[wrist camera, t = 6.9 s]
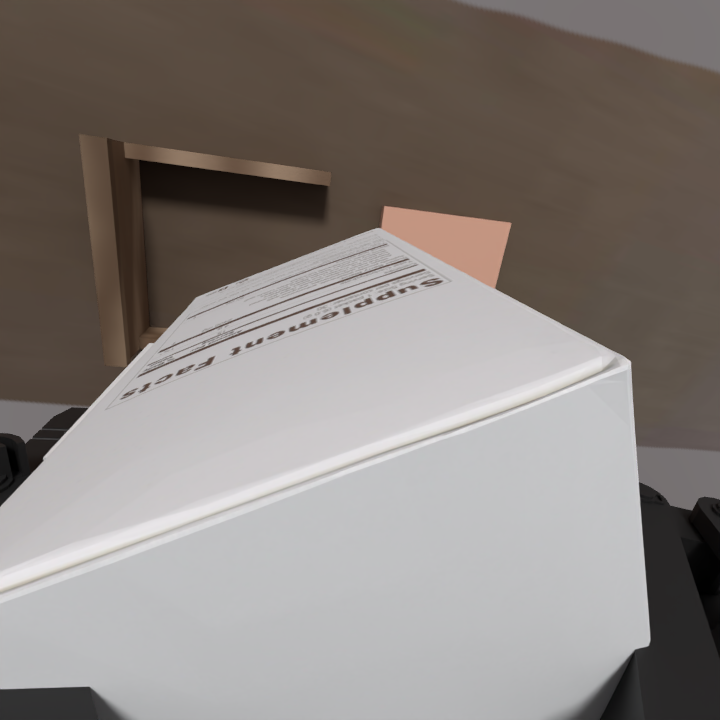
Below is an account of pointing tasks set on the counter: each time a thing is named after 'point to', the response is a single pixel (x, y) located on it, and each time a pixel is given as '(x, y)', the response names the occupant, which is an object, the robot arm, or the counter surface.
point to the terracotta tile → (452, 239)
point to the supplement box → (339, 510)
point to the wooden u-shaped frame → (139, 231)
